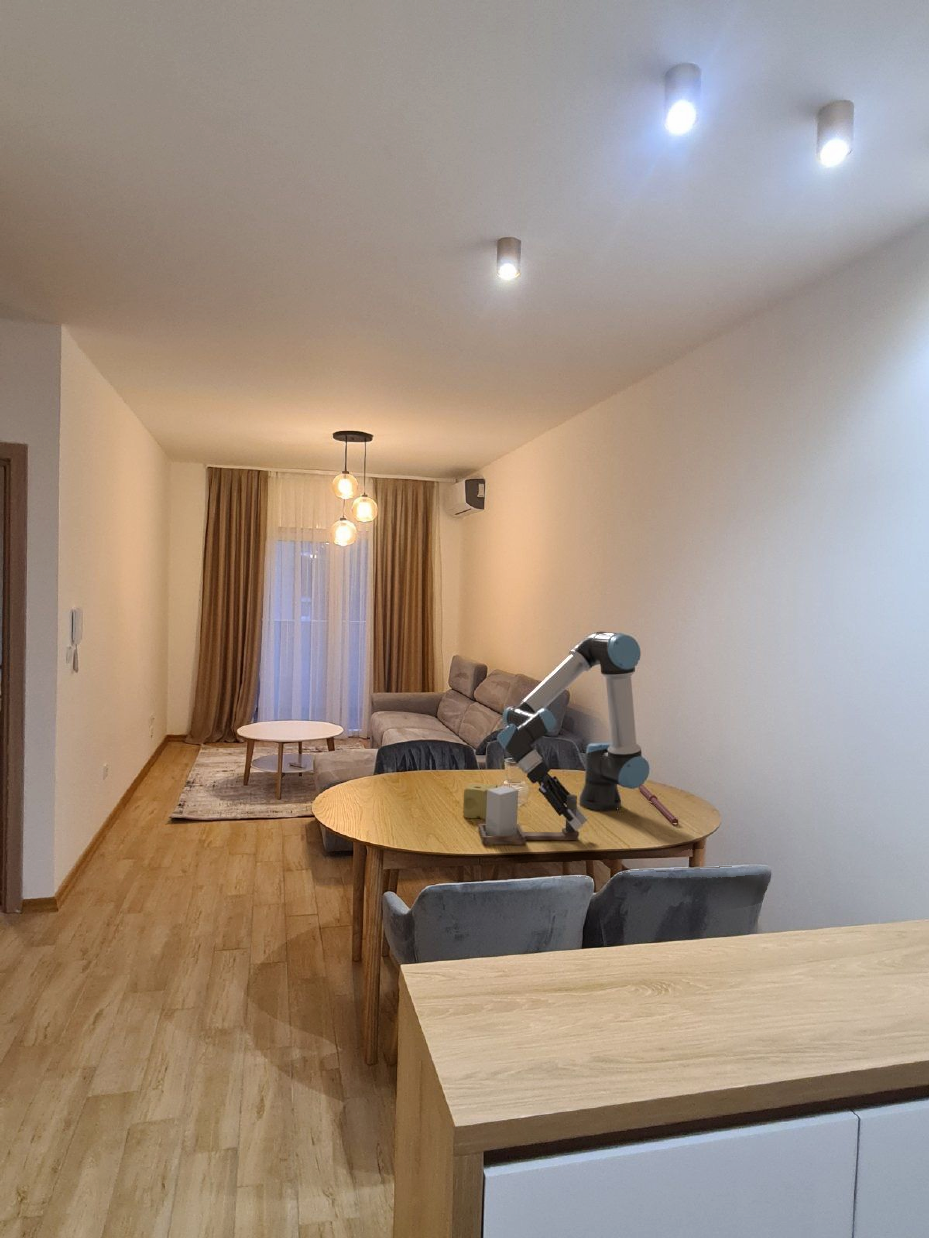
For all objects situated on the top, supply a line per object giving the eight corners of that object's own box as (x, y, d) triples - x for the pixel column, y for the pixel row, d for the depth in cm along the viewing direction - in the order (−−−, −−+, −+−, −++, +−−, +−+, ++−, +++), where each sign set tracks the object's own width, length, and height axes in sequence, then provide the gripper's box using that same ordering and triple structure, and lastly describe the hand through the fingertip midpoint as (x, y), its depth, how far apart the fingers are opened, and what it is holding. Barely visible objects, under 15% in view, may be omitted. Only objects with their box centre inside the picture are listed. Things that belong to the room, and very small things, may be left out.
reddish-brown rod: (636, 791, 307) (637, 783, 307) (644, 791, 307) (645, 783, 307) (670, 826, 262) (670, 817, 262) (679, 826, 262) (680, 817, 262)
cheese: (492, 820, 260) (493, 791, 260) (461, 817, 262) (462, 788, 262) (497, 812, 270) (498, 783, 270) (467, 809, 273) (468, 781, 272)
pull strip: (572, 831, 251) (574, 790, 250) (581, 844, 238) (583, 801, 237) (478, 830, 248) (479, 789, 247) (482, 844, 235) (484, 800, 234)
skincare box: (503, 833, 247) (505, 785, 247) (518, 838, 242) (520, 789, 242) (484, 838, 242) (486, 788, 241) (498, 843, 237) (500, 793, 236)
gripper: (535, 768, 258) (580, 824, 252) (516, 780, 240) (565, 841, 235) (551, 754, 256) (597, 810, 250) (533, 766, 238) (583, 826, 232)
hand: (581, 825), depth 242 cm, fingers open, 6 cm apart
